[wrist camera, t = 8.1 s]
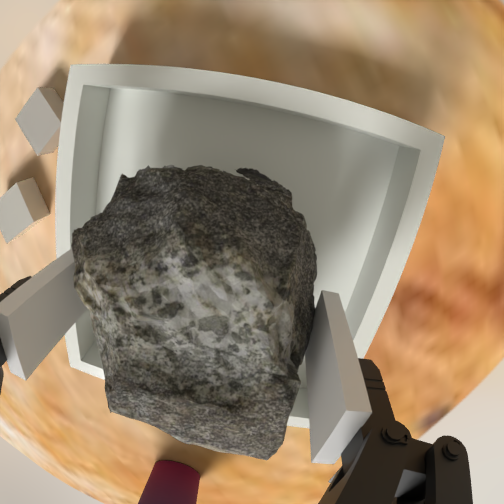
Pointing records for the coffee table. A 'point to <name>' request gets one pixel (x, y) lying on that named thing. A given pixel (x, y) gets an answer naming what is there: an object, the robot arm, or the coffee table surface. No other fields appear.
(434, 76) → the coffee table surface
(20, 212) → the grey small block
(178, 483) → the cup
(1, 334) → the robot arm
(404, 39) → the coffee table surface
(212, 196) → the rock
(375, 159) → the bin
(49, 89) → the chip
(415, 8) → the coffee table surface
